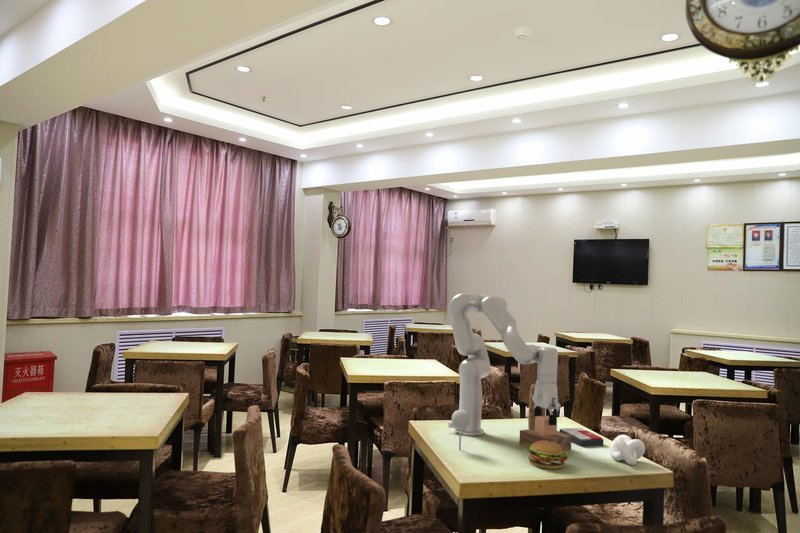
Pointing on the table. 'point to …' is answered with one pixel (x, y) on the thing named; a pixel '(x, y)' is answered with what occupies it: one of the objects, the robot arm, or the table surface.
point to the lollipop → (460, 421)
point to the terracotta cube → (544, 426)
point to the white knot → (627, 449)
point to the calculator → (583, 437)
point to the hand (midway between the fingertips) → (545, 421)
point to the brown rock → (531, 409)
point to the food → (547, 454)
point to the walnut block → (544, 438)
